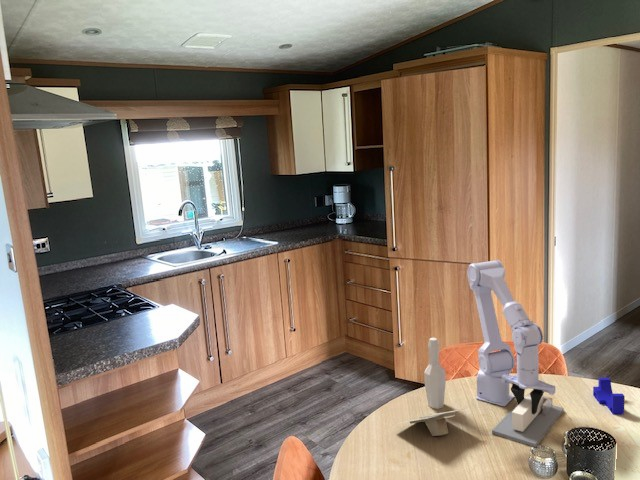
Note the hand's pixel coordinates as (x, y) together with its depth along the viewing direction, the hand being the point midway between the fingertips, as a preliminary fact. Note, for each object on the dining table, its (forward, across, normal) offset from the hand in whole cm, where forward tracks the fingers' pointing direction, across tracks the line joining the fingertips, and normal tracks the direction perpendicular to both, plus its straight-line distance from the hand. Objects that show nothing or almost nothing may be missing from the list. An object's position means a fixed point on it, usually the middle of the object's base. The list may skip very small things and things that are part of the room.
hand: (528, 410), depth 150 cm
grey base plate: (+4, 0, 0) cm, 4 cm away
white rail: (+2, 0, 0) cm, 2 cm away
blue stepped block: (+4, +15, +23) cm, 28 cm away
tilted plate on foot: (+4, -21, -19) cm, 29 cm away
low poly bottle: (+4, -27, -5) cm, 28 cm away
